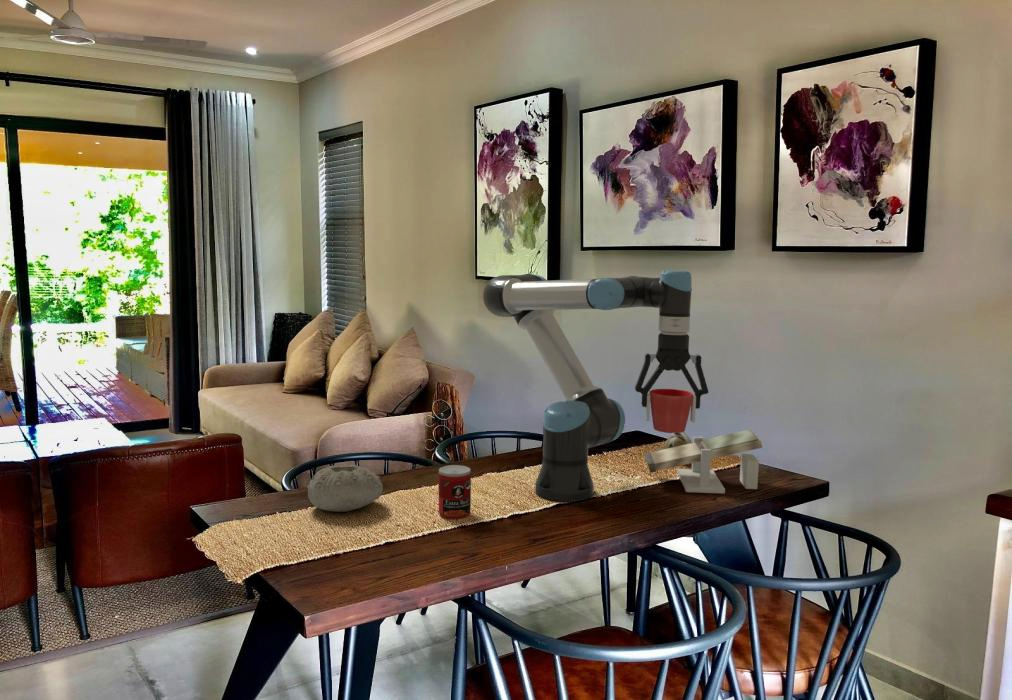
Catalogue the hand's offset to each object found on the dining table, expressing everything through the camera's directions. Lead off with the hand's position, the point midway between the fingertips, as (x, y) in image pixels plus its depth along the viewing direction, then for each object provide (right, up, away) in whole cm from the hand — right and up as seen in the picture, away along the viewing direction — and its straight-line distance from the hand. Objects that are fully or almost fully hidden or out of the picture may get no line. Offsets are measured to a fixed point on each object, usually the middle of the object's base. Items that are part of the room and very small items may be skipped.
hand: (669, 420), depth 204 cm
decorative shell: (-80, -21, -6) cm, 83 cm away
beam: (+12, -11, +18) cm, 24 cm away
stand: (+17, -19, +18) cm, 31 cm away
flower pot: (0, -3, 0) cm, 3 cm away
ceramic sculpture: (+10, -16, +43) cm, 47 cm away
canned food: (-53, -22, -10) cm, 59 cm away
